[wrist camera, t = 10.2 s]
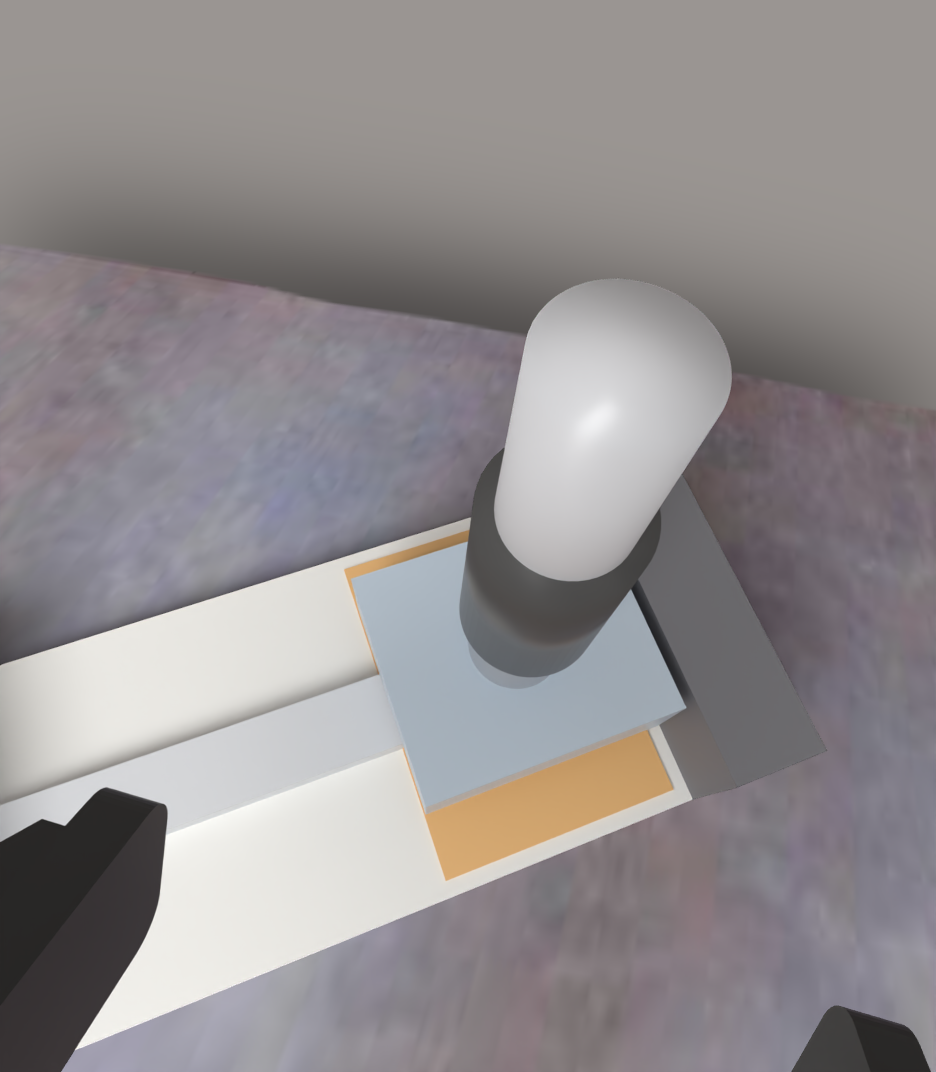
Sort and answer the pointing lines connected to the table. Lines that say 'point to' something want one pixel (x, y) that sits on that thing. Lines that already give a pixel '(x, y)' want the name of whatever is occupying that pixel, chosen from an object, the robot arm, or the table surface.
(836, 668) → the table surface
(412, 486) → the table surface
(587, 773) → the rail base
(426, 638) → the carriage
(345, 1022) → the table surface
